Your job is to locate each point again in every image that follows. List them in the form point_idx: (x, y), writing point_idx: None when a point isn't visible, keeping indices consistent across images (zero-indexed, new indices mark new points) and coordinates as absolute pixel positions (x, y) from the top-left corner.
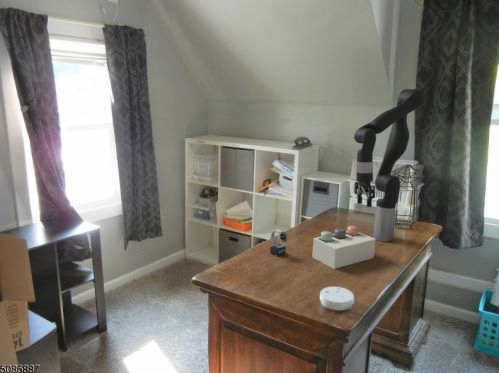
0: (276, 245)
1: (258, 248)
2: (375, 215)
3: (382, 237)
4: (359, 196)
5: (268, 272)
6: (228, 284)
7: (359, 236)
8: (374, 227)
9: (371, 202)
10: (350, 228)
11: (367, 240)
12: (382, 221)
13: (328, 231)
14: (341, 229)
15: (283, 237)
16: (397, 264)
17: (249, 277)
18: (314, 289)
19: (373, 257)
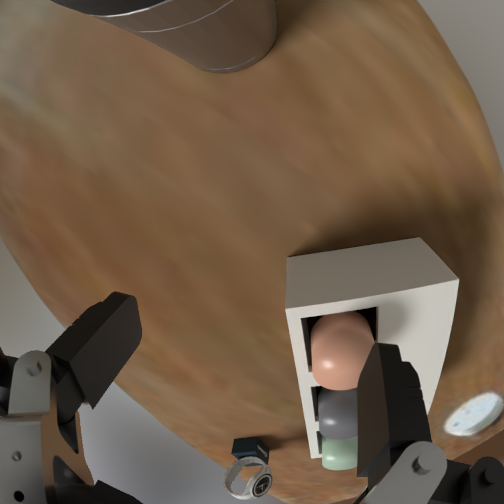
0: (245, 462)
1: (211, 454)
2: (146, 38)
3: (263, 49)
4: (87, 395)
5: (335, 471)
6: (340, 497)
7: (391, 334)
8: (188, 59)
9: (421, 406)
10: (352, 386)
11: (447, 327)
12: (242, 26)
13: (333, 455)
14: (340, 420)
15: (262, 484)
16: (492, 192)
17: (335, 485)
18: (436, 437)
19: (420, 239)
